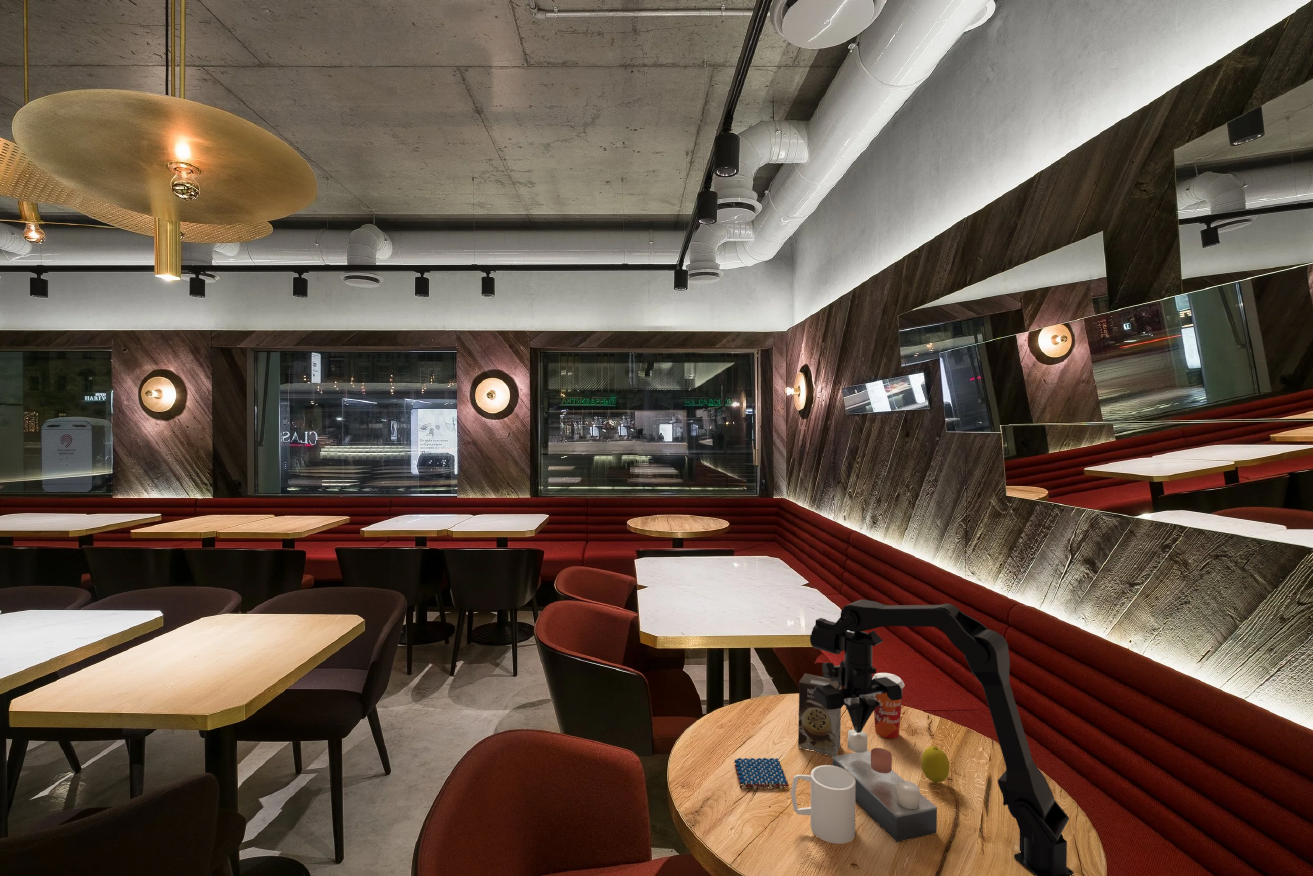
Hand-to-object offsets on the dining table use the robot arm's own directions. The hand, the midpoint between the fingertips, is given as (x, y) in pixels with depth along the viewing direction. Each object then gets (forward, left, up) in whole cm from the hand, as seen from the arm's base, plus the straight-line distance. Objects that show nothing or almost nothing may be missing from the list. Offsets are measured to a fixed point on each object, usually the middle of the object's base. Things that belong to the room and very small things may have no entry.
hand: (857, 731), depth 130 cm
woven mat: (+8, +19, -12) cm, 24 cm away
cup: (-11, +16, -11) cm, 22 cm away
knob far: (0, 0, -3) cm, 4 cm away
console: (-8, 0, -11) cm, 14 cm away
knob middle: (-8, 0, -3) cm, 9 cm away
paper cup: (+16, -20, -11) cm, 28 cm away
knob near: (-16, 0, -6) cm, 17 cm away
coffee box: (+15, 0, -11) cm, 19 cm away
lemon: (-5, -16, -11) cm, 20 cm away
